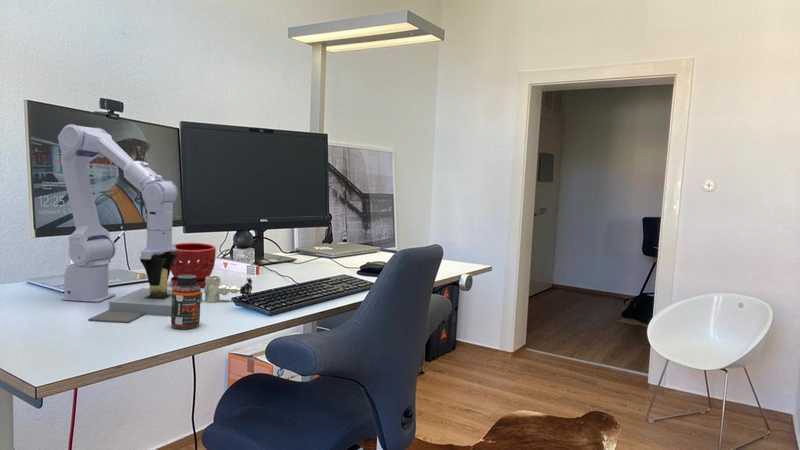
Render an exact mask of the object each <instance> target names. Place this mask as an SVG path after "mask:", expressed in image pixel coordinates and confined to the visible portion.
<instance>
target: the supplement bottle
mask: <svg viewBox="0 0 800 450" xmlns="http://www.w3.org/2000/svg"><path fill="white" fill-rule="evenodd" d="M177 282H178V283H177V284H176V285H174V286H173V287H172V289H171V290H172V309H171V316H170V317H171V318H170V323H171V324H170V325H171V326H172V328H175V329H179V330H187V329H188V330H189V329H194V328H196V327H198V326H199V325H200V317H201V302H200V299H201V292H202V291H201V288H202V287H200V286H198V285H197V283H196V282H197V276H195V275H179V276H178V277H177Z"/></svg>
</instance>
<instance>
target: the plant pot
mask: <svg viewBox="0 0 800 450" xmlns="http://www.w3.org/2000/svg"><path fill="white" fill-rule="evenodd" d="M175 244H176V251H171V253H176V254H177V257H176V259H175V260H174V262H173V264H172V267H171V270H170V272H171V274H172V277H171V278H170V282H171V284H172V285H174V286H175V285H176V284H177V283H178V282H177V277H178V276H179V275H195V276H197V282H196V283H197V285H198V286H200V288H202V287H205V285H206V283H205V277H207V276H211V275H212V272H213V270H214V267H215V262H216V255H217V254H216V252H217V251H216V246H215V245H213V244H209V243H208V244H207V243H199V242H183V243H182V242H181V243H175Z"/></svg>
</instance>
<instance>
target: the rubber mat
mask: <svg viewBox="0 0 800 450" xmlns="http://www.w3.org/2000/svg"><path fill="white" fill-rule="evenodd" d="M143 316H145V313H138V312H121V311H109V309H108V310H105V311H103V312H101V313H99V314H97V315H94V316H92V317H90V318H88V319H87V320H88V322H103V323H116V324H117V323H118V324H119V323H121V324H129V323H132V322H133V321H135V320H137V319H140V318H141V317H143Z"/></svg>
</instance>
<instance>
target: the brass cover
mask: <svg viewBox="0 0 800 450" xmlns="http://www.w3.org/2000/svg"><path fill="white" fill-rule="evenodd" d="M167 276H168V269H166V268H162V272H161V279H160V284H159V285H158V286H152V285H150V284H149V288H150V298H152V299H162V298H166V297H167V290H168V281H167Z"/></svg>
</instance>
